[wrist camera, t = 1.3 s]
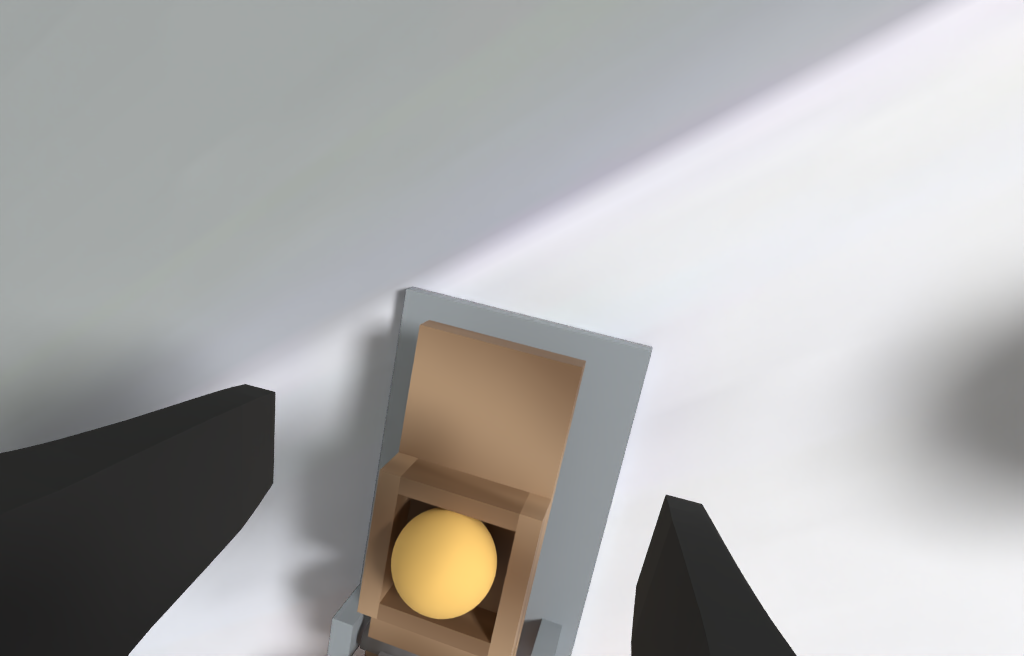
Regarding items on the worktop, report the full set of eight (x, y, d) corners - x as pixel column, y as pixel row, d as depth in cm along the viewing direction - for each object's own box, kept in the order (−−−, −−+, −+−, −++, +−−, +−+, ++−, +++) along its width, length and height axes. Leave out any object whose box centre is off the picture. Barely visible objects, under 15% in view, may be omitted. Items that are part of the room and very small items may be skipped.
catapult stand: (565, 674, 25) (545, 764, 21) (362, 600, 27) (309, 671, 23) (652, 347, 22) (647, 382, 18) (412, 286, 24) (359, 306, 20)
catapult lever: (506, 718, 23) (487, 778, 20) (366, 664, 24) (332, 716, 22) (592, 361, 19) (581, 385, 17) (424, 317, 20) (392, 333, 18)
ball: (492, 609, 20) (467, 654, 17) (401, 577, 21) (361, 615, 18) (516, 513, 20) (496, 541, 17) (425, 484, 21) (389, 506, 18)
